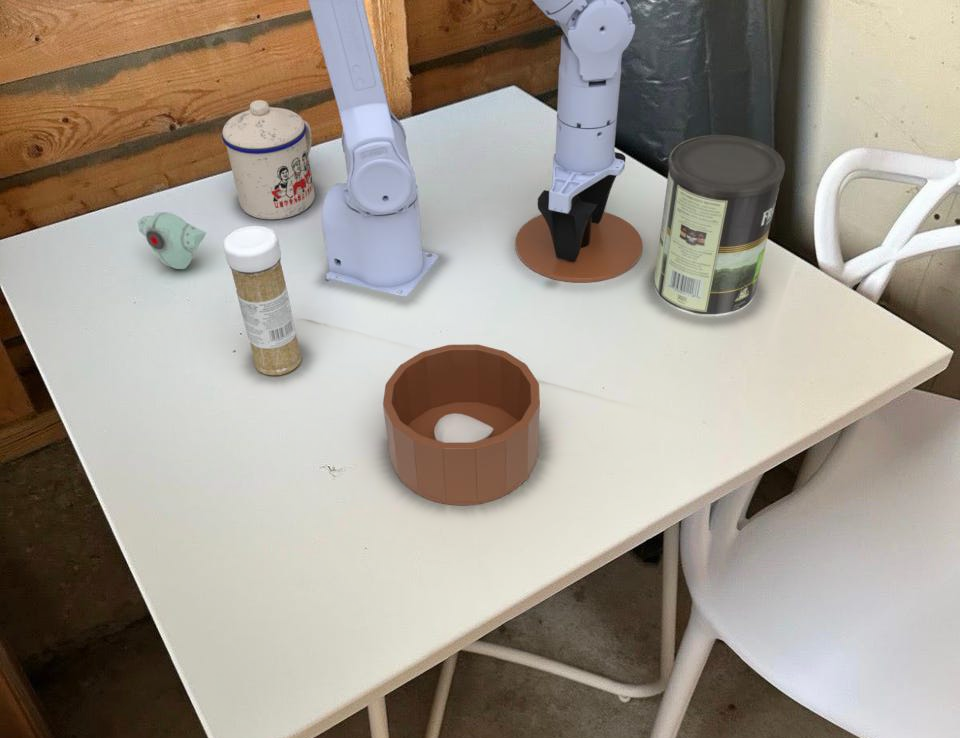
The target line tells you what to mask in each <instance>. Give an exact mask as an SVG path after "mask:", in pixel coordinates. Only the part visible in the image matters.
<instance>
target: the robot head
mask: <svg viewBox="0 0 960 738" xmlns="http://www.w3.org/2000/svg"><path fill="white" fill-rule="evenodd" d="M137 226H138V231H139V232H140V234H142V235H143V236H144V237H145V239H146V241H147V244H148V246H149V247H150V249H151V250H152V252H153V253H154V254H155V256H156V257H157V258H158V259H159V261H160V262H162V263H163V264H164V265H165V266H168V267H170V268H173V269H175V270H185V269H187V268H188V266H189V265H190V264H191V262H192V259H193V256H194V252H195V251H196V250H197V249H198V248H199V246H200V244H201V243H202V241H203V239H204V238H205V237H206V235H207V232H206V231H204V230H202V229H200V228H198V227H196V226H194V225H192V224H190V223H188V222H187V221H185V220H184V219H183V218H182V217H181V216H178V215H176V214H174V213H172V212H168V211H167V212H166V211H163V212H161V211H160V212H159V211H157V212H155V213H153V214H151V215H146V216H142V218H140V219H139V220H138V221H137Z"/></svg>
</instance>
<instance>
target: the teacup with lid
mask: <svg viewBox="0 0 960 738" xmlns="http://www.w3.org/2000/svg"><path fill="white" fill-rule="evenodd" d="M312 135H313V134H312V128H311V126H310V124H309V123H308V122H307V121H306V120H304V119H303V118H302V117H301V116H300V115H299V114H298V113H296V112H295V111H292V110H290V109H287V108H282V107H272V106H269V103H268V101H266V100H265V99H264V100H263V99H262V100H261V99H257V100H254V101H252V102H251V103H250V105H249V109H248V110H245V111H242V112H240V113H237V114H236V115H233V116H232V117H231V118H230V119H228V120H227V121H226V123H225V124H224V126H223V128H222V133H221V139H222V142H223V143H224V144H225V146H226V150H227V155H228V160H229V164H230V167H231V172H232V176H233V180H234V185H235V190H236V194H237V197H238V202H239V206H240V208H241V209H242V210H243V212H245V214H247V215H249V216H250V217H251V216H252V217H254V218H256V219H261V220H282V219H287V218H290V217H294V216H296V215H299V214H301V213H302V212H304V211H306V210H307V209H309V207H310V206H312V204H313V202H314V201H315V195H316V194H315V193H316V192H315V187H314V182H313V175H312V169H311V163H310V157H309V156H310V153H311V150H312V143H313V140H312V139H313V136H312Z"/></svg>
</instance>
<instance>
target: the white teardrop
mask: <svg viewBox="0 0 960 738" xmlns="http://www.w3.org/2000/svg"><path fill="white" fill-rule="evenodd" d="M492 431H493V428H492V427H491V426H489V425H487V424H484V423H483V422H481V421H479V420H477V419H474V418H472V417H470V416H467V415H463V414H454V413H453V414H449V415H445V416H444V417H442V418H441V419H439V421H438V422H437V424H436V426H435V428H434V434H435V440H438V441H441V442H445V443H474V442H477V441H481V440H484V439H487V438H488V436H489V435H490V434H491V433H492Z"/></svg>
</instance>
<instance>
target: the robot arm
mask: <svg viewBox="0 0 960 738" xmlns="http://www.w3.org/2000/svg"><path fill="white" fill-rule="evenodd" d="M307 2H308V5H309V9H310V12H311V13H310V14H311V17H312V18H313V24H314V27H315V30H316V33H317V37H318V41H319V45H320V49H321V52H322V55H323V59H324V62H325V66H326V70H327V75H328V77H329V80H330V85H331V88H332V92H333V94H334V98H335V101H336V105H337V106H336V107H337V109H338V112H339V117H340V122H341V126H342V133H341V147H342V150H343V151H342V152H343V154H344V159H345V167H346V174H347V175H346V176H347V178H346V179H347V180H346V182H338V183H336V184H334V185H333V186H332V187H331V188H330V189H329V190H328V192H327V194H326V196H325V197H324V201H323V205H322V209H321V228H322V235H323V241H324V247H325V253H326V260H327V264H328V266H327V267H328V270H329V271H328V272H327V273H326V274H325V279H326V280H327V281H330V280H336V281H339V282H343V283H346V284H351V285H355V286H359V287H363V288H367V289H371V290H375V291H380V292H383V293H386V294H387V293H388V294H392V295H395V296H399V297H407V296H409V295H410V293H411V292H412V291H413V290H414V288H415V287H416V286H417V284H418V283H419V282H420V281H421V280H422V278H423V277H424V276H425V275H426V273H427V272H428V271H429V270H430V269H431V267H432V266H433V265H434V264H435V262H436V261H437V260H438V258H439V254H437V253H433V252H428V251H424V250H423V243H422V242H423V241H422V240H423V239H422V229H421V227H422V226H421V217H420V204H419V203H420V202H419V201H420V200H419V190H418V188H419V187H418V185H417V179H416V178H417V177H416V173H415V171H414V169H413V166H412V163H411V160H410V156H409V151H408V147H407V135H406V131H405V128H404V126H403V124H402V122H401V121H400V119H398V118H397V116H396V115H395V114H394V113H393V111H392V110H391V108H390V105H389V103H388V97H387V93H386V89H385V86H384V81H383V77H382V74H381V73H382V72H381V69H380V66H379V59H378V57H377V56H378V55H377V53H376V48H375V44H374V39H373V36H372V31H371V27H370V24H369V18H368V15H367V10H366V6H365V1H364V0H307ZM532 2H533V3H534V4H535V5H536V6H537V7H538V8H539V9H540V10H541V11H542V13H543V14H544V15H545V16H546V17H547V18H548V19H551V20H554V22H555V24H556V25H557V26H558V27H560V28H561V30H562V31H563V33H564V34H563V35H562V36H561V37H560V38H561V39H560V60H559V61H560V62H559V65H558V81H557V108H556V129H555V153H554V154H553V156H552V184H551V188H550V190H545V189H543V191H542V192H541V194H540V195H538V198H537V210H538V211H539V212H540V213H541V214H542V215H543V217H544V218H545V220H546V222H547V224H548V227H549V229H550V233H551V236H552V240H553V245H554V249H555V253H556V256H557V258H559V259H564V260H568V261H573V262H574V261H576V259H577V257H578V255H579V252H580V249H581V244H582V240H583V235H584V231H585V228H586V225H587V222H588V220H589V218H590V216H591V214H592V223H596V224H599V222H600V221H601V219H602V216H603V213H604V212H605V210H606V207H607V203H608V200H609V196H610V194H611V190H612V187H613V186H614V183H615V180H616V178H617V176H620V175H621V174H622V173H623V172H624V171H625V167H626V165H625V164H626V159H627V158H626V157H627V156H626V155H625V154H623V153H622V152H616V151H615V145H616V135H617V134H616V133H617V123H618V110H619V102H620V101H619V99H620V90H621V89H620V88H621V78H622V60H623V59H622V57H623V53H624V52H625V50H626V49H627V48H628V47H629V46H630V43H631V41H632V40H633V37H634V34H635V32H636V31H635V30H636V24H635V23H633V16H632V15H631V14H632V9H631V6H630V5H629V3H628V2H627V0H532ZM541 214H540V215H541ZM429 255H431V256H429Z"/></svg>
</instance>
